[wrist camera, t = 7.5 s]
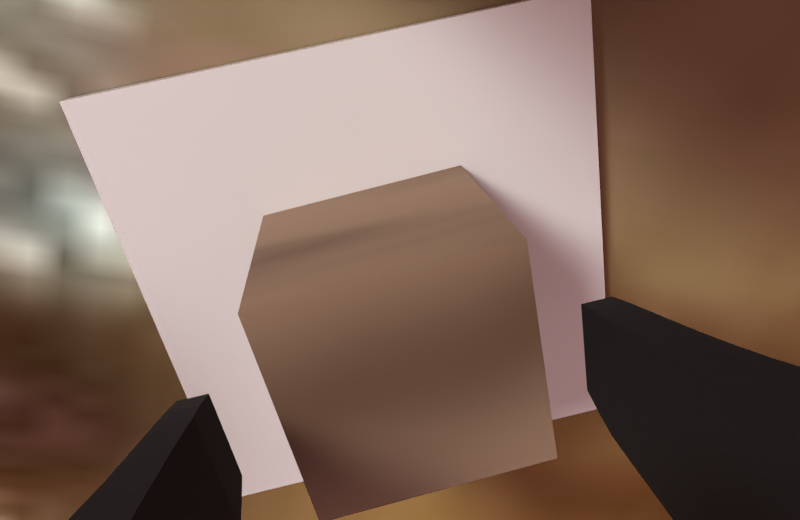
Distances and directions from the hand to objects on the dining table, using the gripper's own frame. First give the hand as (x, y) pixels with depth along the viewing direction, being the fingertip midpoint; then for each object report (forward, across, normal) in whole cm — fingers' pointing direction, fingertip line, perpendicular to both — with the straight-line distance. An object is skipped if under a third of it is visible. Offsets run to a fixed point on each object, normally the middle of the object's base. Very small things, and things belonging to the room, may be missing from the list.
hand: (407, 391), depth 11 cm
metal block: (+5, 0, 0) cm, 5 cm away
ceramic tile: (+5, 0, 0) cm, 5 cm away
